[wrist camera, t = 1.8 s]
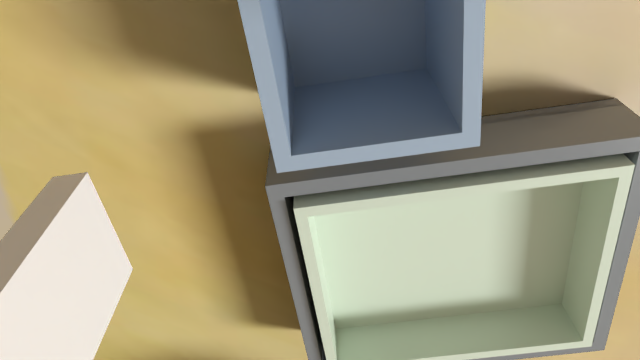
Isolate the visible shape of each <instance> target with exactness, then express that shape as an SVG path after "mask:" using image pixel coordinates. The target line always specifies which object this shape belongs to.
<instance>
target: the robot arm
mask: <svg viewBox="0 0 640 360" xmlns="http://www.w3.org/2000/svg"><path fill="white" fill-rule="evenodd" d="M132 270H133V268H132V266H131V264H130V262H129V260H128V258H127V255H126V253H125V251H124V249H123V247H122V245H121V243H120V241H119V238H118V236H117V234H116V232H115V230H114V228H113V226H112V224H111V221H110V219H109V217H108V215H107V213H106V211H105V209H104V206H103V204H102V202H101V200H100V198H99V196H98V194H97V192H96V189H95V187H94V185H93V183H92V181H91V179H90V177H89V175H88V172H86V173H79V174H71V175H64V176H57V177H52V179H51V180H50V181H49V182H48V183H47V185H46V186H45V187H44V188H43V189H42V191H41V192H40V193H39V194H38V196H37V197H36V198H35V199H34V200H33V202H32V203H31V204H30V205H29V206H28V208H27V209H26V210H25V211H24V213H23V214H22V215H21V216H20V217H19V219H18V220H17V221H16V222H15V224H14V225H13V226H12V227H11V228H10V230H9V231H8V232H7V233H6V234H5V236H4V237H3V238H2V239H1V241H0V360H93V359H94V356H95V354H96V352H97V350H98V347H99V345H100V343H101V340H102V338H103V336H104V334H105V331H106V329H107V327H108V324H109V322H110V320H111V318H112V315H113V313H114V311H115V308H116V306H117V304H118V302H119V299H120V297H121V295H122V292H123V290H124V288H125V286H126V283H127V281H128V279H129V276H130V274H131V272H132Z"/></svg>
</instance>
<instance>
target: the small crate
mask: <svg viewBox="0 0 640 360" xmlns="http://www.w3.org/2000/svg"><path fill="white" fill-rule="evenodd" d="M237 1H238V5H239V10H240V14H241V19H242V23H243V27H244V32H245V36H246V40H247V45H248V49H249V53H250V58H251V62H252V67H253V71H254V75H255V80H256V84H257V88H258V93H259V97H260V101H261V106H262V110H263V115H264V119H265V123H266V128H267V132H268V136H269V141H270V145H271V149H272V154H273V158H274V162H275V167H276V171H277V173H282V172H290V171H297V170H305V169H312V168H320V167H327V166H335V165H342V164H350V163H357V162H365V161H372V160H380V159H387V158H395V157H402V156H410V155H417V154H425V153H432V152H440V151H447V150H455V149H462V148H470V147H477V146H480V138H481V111H482V84H483V57H484V30H485V3H486V0H237Z"/></svg>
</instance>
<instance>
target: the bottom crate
mask: <svg viewBox="0 0 640 360" xmlns="http://www.w3.org/2000/svg"><path fill="white" fill-rule="evenodd" d="M621 153H623V154H624V155H625V156H626V157H627V158H628V159H629V160H630V161H631V162H632V163H633V164H635V167H634V171H633V175H632V180H631V184H630V188H629V192H628V196H627V200H626V205H625V209H624V213H623V217H622V221H621V225H620V230H619V234H618V238H617V242H616V246H615V250H614V255H613V259H612V263H611V267H610V271H609V275H608V280H607V284H606V288H605V292H604V296H603V300H602V305H601V309H600V313H599V317H598V321H597V325H596V330H595V334H594V338H593V342H592V346H591V347H582V348H573V349H563V350H554V351H544V352H535V353H525V354H516V355H507V356H497V357H488V358H478V359H469V360H515V359H524V358H534V357H543V356H553V355H562V354H572V353H581V352H591V351H600V350H604V349H605V345H606V341H607V338H608V334H609V330H610V326H611V322H612V319H613V315H614V311H615V307H616V303H617V300H618V296H619V292H620V288H621V284H622V281H623V277H624V273H625V269H626V265H627V262H628V258H629V254H630V250H631V246H632V243H633V239H634V235H635V231H636V227H637V224H638V220H639V216H640V117H639V116H638V115H637V114H635V113H634V112H633V111H632V110H630V109H629V108H628V107H627V106H625V105H624V104H623V103H621V102H620V101H619V100H618V99H616V98H615V99H608V100H600V101H593V102H586V103H578V104H571V105H564V106H557V107H549V108H542V109H535V110H527V111H520V112H513V113H506V114H498V115H491V116H484V117H481V138H480V146H477V147H470V148H462V149H455V150H447V151H440V152H432V153H425V154H417V155H410V156H402V157H395V158H387V159H380V160H372V161H365V162H357V163H350V164H342V165H335V166H327V167H320V168H312V169H305V170H297V171H290V172H282V173H277V171H276V167H275V162H274V158H273V154H272V149H271V146H270V153H269V160H268V168H267V175H266V183H265V188H266V192H267V196H268V200H269V204H270V208H271V212H272V216H273V220H274V224H275V228H276V232H277V236H278V240H279V244H280V248H281V252H282V256H283V260H284V264H285V268H286V272H287V276H288V280H289V284H290V288H291V292H292V296H293V300H294V304H295V308H296V312H297V316H298V320H299V324H300V328H301V332H302V336H303V340H304V344H305V348H306V352H307V356H308V360H326V356H325V351H324V347H323V342H322V338H321V333H320V328H319V324H318V319H317V315H316V310H315V305H314V301H313V296H312V292H311V287H310V283H309V278H308V273H307V269H306V264H305V260H304V255H303V250H302V246H301V241H300V237H299V232H298V228H297V223H296V218H295V214H294V209H293V207H294V196H298V195H306V194H314V193H321V192H329V191H337V190H344V189H352V188H360V187H368V186H375V185H383V184H391V183H398V182H406V181H414V180H421V179H429V178H437V177H444V176H452V175H460V174H468V173H475V172H483V171H491V170H498V169H506V168H514V167H521V166H529V165H537V164H545V163H552V162H560V161H568V160H575V159H583V158H591V157H598V156H606V155H614V154H621Z"/></svg>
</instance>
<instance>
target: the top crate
mask: <svg viewBox="0 0 640 360" xmlns="http://www.w3.org/2000/svg"><path fill="white" fill-rule="evenodd" d="M634 167H635V164H633V163H632V162H631V161H630V160H629V159H628V158H627V157H626V156H625V155H624V154H623V153H621V154H614V155H606V156H598V157H591V158H583V159H575V160H568V161H560V162H552V163H545V164H537V165H529V166H521V167H514V168H506V169H498V170H491V171H483V172H475V173H468V174H460V175H452V176H444V177H437V178H429V179H421V180H414V181H406V182H398V183H391V184H383V185H375V186H368V187H360V188H352V189H344V190H337V191H329V192H321V193H314V194H306V195H298V196H294V207H293V209H294V214H295V218H296V223H297V228H298V232H299V237H300V241H301V246H302V250H303V255H304V260H305V264H306V269H307V273H308V278H309V283H310V287H311V292H312V296H313V301H314V305H315V310H316V315H317V319H318V324H319V328H320V333H321V338H322V342H323V347H324V351H325V356H326V360H469V359H478V358H488V357H497V356H507V355H516V354H525V353H535V352H544V351H554V350H563V349H573V348H582V347H591V346H592V342H593V338H594V334H595V330H596V325H597V321H598V317H599V313H600V309H601V305H602V300H603V296H604V292H605V288H606V284H607V280H608V275H609V271H610V267H611V263H612V259H613V255H614V250H615V246H616V242H617V238H618V234H619V230H620V225H621V221H622V217H623V213H624V209H625V205H626V200H627V196H628V192H629V188H630V184H631V180H632V175H633V171H634Z"/></svg>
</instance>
